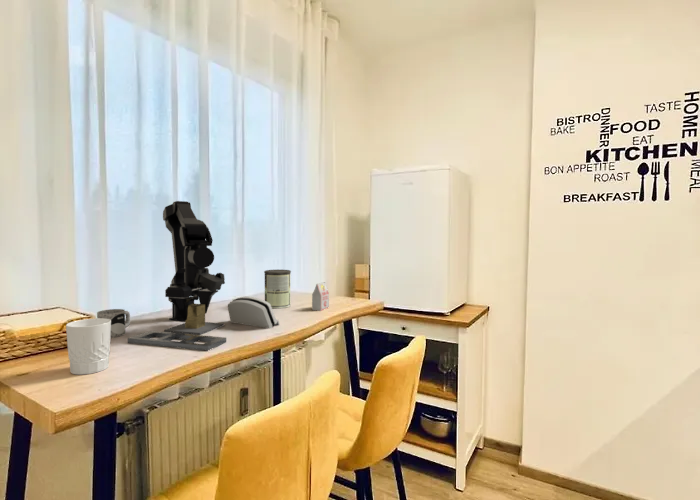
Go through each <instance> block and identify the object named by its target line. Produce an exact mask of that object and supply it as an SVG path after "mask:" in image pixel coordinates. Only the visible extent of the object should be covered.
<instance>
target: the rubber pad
mask: <svg viewBox="0 0 700 500" xmlns="http://www.w3.org/2000/svg"><path fill="white" fill-rule="evenodd" d="M223 326H225V323H224V322H223V323H222V322H211V321H210V322H209V321H205V326H202V327H200V328H197V329H196V328H185V322H183V323H180V324H178V325H174V326H172V327H171V326H170V327H168V328H165V329H164V330H163V332H169V333H180V334H192V335H204V334H206V333H208V332H211V331H213V330H216V329H218V328H221V327H223Z"/></svg>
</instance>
